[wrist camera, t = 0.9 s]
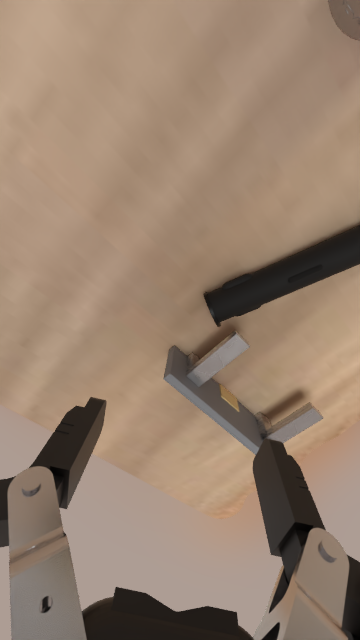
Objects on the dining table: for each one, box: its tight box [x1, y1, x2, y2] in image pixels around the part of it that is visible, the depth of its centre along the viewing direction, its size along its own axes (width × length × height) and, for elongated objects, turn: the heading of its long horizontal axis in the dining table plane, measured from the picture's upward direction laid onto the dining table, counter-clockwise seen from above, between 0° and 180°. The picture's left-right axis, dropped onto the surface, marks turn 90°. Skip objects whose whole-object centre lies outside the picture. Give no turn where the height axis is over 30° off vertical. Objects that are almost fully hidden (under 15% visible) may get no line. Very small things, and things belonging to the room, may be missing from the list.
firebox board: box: [164, 345, 263, 455], centre depth 37 cm, size 1×24×8 cm, turn 46°
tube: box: [204, 226, 360, 327], centre depth 30 cm, size 25×6×6 cm, turn 116°
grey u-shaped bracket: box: [186, 330, 323, 443], centre depth 37 cm, size 9×18×6 cm, turn 46°
